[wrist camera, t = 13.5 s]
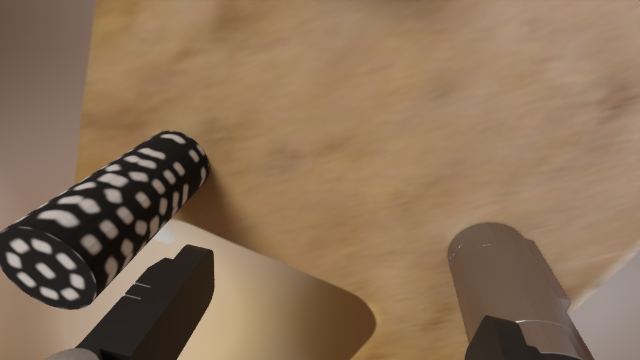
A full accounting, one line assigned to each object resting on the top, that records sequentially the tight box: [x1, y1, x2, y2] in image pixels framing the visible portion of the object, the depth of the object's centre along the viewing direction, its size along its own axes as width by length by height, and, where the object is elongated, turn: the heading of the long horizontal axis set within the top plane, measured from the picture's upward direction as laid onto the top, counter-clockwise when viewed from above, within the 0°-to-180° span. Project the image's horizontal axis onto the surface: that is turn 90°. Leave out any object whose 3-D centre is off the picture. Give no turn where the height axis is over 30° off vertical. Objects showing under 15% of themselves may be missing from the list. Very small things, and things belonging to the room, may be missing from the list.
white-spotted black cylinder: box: [0, 131, 209, 310], centre depth 36 cm, size 8×8×20 cm
